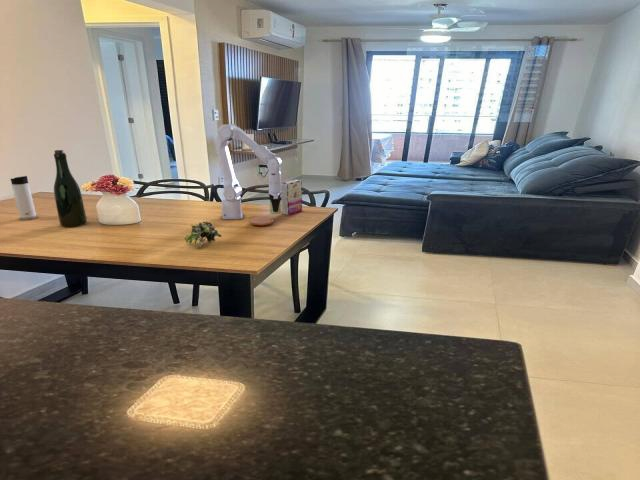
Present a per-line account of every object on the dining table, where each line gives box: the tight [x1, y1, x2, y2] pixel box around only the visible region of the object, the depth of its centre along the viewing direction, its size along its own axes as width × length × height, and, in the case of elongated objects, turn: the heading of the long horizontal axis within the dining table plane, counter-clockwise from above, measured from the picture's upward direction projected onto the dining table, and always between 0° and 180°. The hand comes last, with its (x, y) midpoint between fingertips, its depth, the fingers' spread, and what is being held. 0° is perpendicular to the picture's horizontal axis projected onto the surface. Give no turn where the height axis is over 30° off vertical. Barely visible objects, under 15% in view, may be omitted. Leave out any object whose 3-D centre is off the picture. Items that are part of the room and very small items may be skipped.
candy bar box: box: [280, 179, 303, 216], centre depth 196 cm, size 11×5×16 cm, turn 143°
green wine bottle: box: [53, 149, 88, 228], centre depth 167 cm, size 10×10×33 cm
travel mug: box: [10, 175, 38, 221], centre depth 177 cm, size 6×7×20 cm
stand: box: [248, 216, 274, 227], centre depth 178 cm, size 11×11×2 cm
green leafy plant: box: [184, 220, 222, 249], centre depth 148 cm, size 11×11×12 cm
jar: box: [269, 200, 282, 215], centre depth 184 cm, size 5×5×6 cm
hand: (275, 210), depth 184 cm, fingers closed on jar, 5 cm apart
